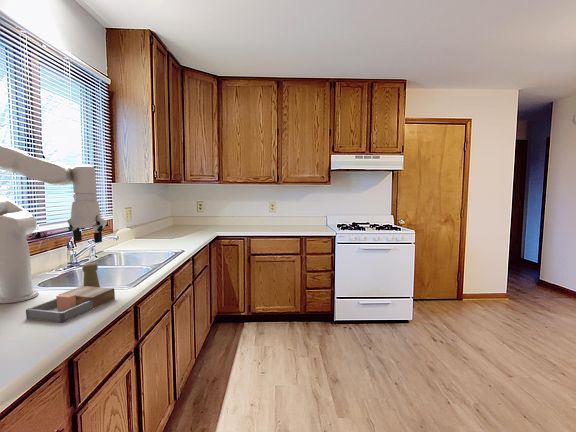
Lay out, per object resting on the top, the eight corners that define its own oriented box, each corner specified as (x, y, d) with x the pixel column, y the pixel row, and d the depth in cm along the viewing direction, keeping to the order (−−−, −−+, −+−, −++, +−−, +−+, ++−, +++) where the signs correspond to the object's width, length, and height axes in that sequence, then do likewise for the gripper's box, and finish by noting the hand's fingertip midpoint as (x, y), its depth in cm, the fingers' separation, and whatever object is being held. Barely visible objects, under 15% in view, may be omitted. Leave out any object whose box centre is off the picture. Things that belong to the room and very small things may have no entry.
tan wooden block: (59, 305, 116) (58, 294, 116) (83, 296, 126) (82, 285, 125) (92, 308, 113) (92, 297, 112) (114, 298, 122) (114, 288, 122)
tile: (63, 308, 112) (57, 311, 110) (62, 293, 112) (56, 296, 109) (76, 309, 111) (70, 312, 109) (75, 294, 111) (69, 297, 108)
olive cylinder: (97, 287, 136) (95, 261, 135) (102, 290, 132) (100, 263, 131) (80, 291, 132) (78, 263, 131) (85, 294, 128) (83, 266, 127)
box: (26, 318, 105) (25, 309, 105) (59, 305, 116) (58, 297, 116) (62, 322, 102) (61, 313, 101) (92, 308, 113) (92, 300, 112)
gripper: (58, 198, 127) (61, 242, 129) (96, 198, 123) (98, 244, 124) (75, 197, 134) (78, 239, 136) (111, 197, 130) (113, 241, 132)
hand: (87, 241), depth 130 cm, fingers open, 9 cm apart
